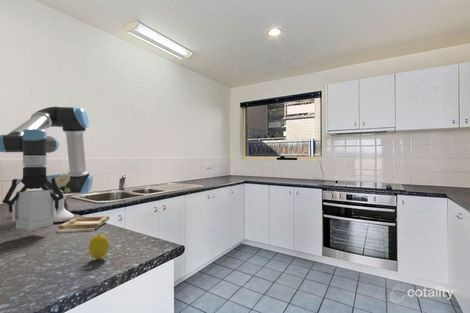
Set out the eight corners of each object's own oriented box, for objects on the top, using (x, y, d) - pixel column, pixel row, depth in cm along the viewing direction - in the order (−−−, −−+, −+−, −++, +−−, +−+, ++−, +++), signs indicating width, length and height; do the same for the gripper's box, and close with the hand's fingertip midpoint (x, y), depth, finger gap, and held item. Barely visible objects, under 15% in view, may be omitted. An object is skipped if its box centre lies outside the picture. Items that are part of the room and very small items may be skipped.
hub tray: (77, 221, 123) (77, 216, 123) (110, 219, 126) (110, 215, 126) (55, 232, 104) (55, 227, 104) (95, 230, 107) (95, 225, 107)
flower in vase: (42, 222, 122) (43, 173, 122) (67, 217, 132) (67, 172, 132) (56, 225, 116) (56, 174, 116) (80, 220, 126) (81, 172, 126)
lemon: (94, 256, 78) (94, 231, 78) (111, 255, 79) (111, 231, 79) (85, 263, 73) (85, 237, 73) (104, 262, 73) (104, 236, 73)
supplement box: (53, 224, 102) (53, 189, 102) (30, 230, 94) (30, 192, 93) (39, 222, 105) (39, 188, 105) (15, 228, 96) (15, 191, 96)
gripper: (-9, 167, 90) (-9, 224, 90) (69, 166, 102) (69, 216, 102) (-2, 166, 96) (-2, 219, 96) (70, 165, 109) (71, 212, 109)
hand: (34, 218), depth 99 cm, fingers closed on supplement box, 12 cm apart
